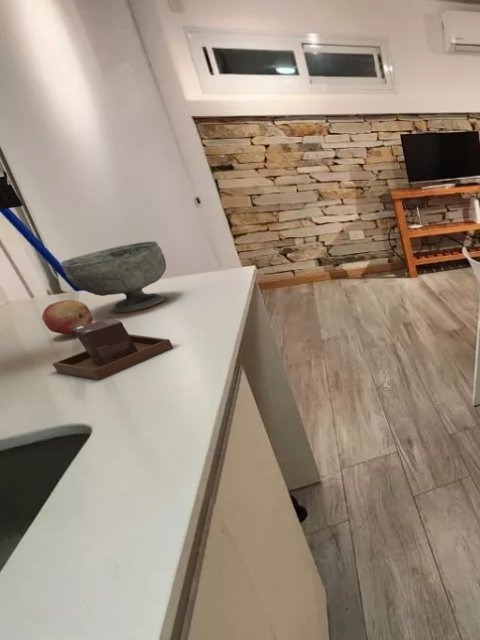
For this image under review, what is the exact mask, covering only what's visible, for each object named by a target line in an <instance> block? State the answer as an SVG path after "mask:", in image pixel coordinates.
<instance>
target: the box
mask: <svg viewBox="0 0 480 640" xmlns="http://www.w3.org/2000/svg"><path fill="white" fill-rule="evenodd" d="M73 331H74V332H75V334H74V335H76V337H77V338H78V340H79V342H80V343H81V345H82V346H83V348H84V349H85V350H84V351H87V353H88V354H89V356H90V358H91V359H92V361H94V362H96V363H98V364H100V365H102V366H104V365H106V364H109V363H111V362H113V361H116V360H118V359H121V358H123V357H126V356H128V355H130V354H133V353H135V352H138V350H137V348H136V346H135V345H134V343H133V341H132V339H131V338H130V336H129V334H130V333H129V332H128V330H127V329H126V327H125V326H124V324H123V322H122V321H120V320H118V319H115V318H113V317H107V318H103V319H101V320H97V321H94V322H92V323H90V324H87V325H84V326H80V327H77V328H75V329H73Z"/></svg>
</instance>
